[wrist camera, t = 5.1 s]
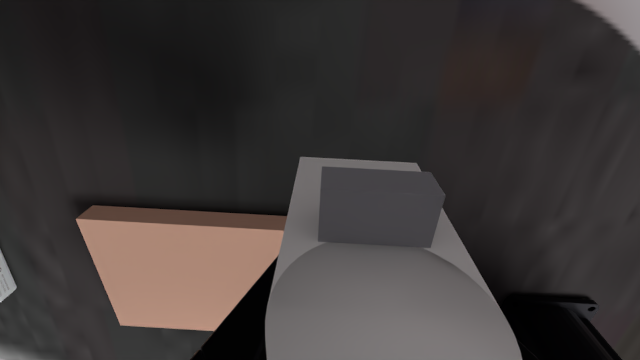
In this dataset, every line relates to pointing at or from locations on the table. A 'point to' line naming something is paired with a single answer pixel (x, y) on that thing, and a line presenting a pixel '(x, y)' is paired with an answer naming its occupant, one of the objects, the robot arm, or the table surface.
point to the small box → (5, 279)
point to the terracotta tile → (178, 262)
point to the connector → (377, 272)
